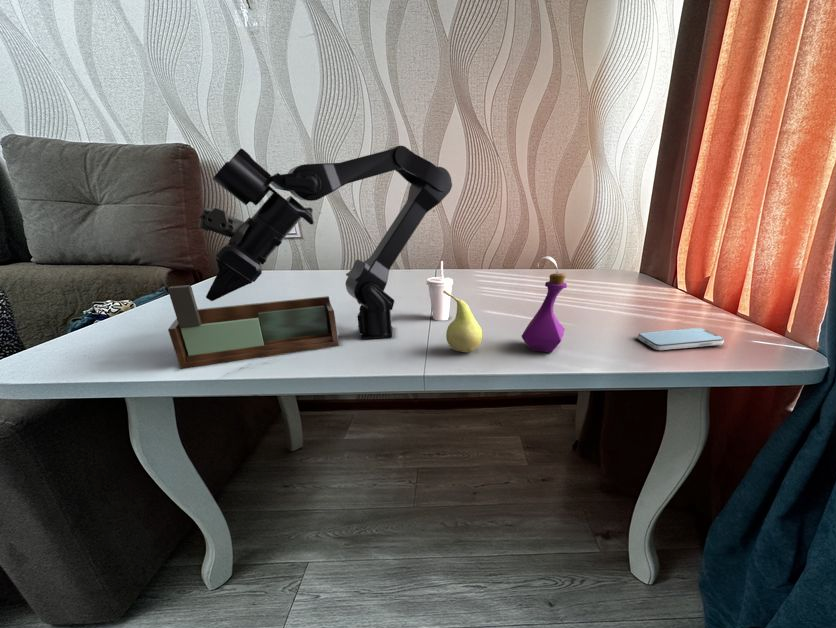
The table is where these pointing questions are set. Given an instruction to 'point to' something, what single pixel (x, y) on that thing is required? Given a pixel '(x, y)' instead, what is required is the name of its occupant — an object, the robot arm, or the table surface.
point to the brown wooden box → (267, 330)
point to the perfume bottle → (546, 318)
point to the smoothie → (440, 295)
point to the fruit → (463, 329)
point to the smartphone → (680, 339)
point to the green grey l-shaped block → (211, 327)
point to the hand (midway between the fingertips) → (212, 293)
